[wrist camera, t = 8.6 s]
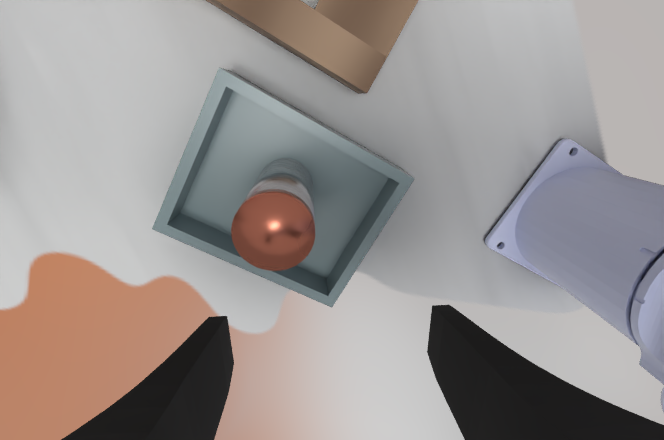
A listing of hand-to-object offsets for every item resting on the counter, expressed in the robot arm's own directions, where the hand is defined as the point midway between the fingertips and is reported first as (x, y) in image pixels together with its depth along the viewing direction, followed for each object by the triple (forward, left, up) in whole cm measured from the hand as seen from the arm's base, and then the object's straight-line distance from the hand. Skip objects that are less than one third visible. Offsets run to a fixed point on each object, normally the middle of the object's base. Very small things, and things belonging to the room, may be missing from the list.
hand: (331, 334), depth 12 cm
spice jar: (+3, -2, -10) cm, 11 cm away
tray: (+3, -1, -10) cm, 11 cm away
